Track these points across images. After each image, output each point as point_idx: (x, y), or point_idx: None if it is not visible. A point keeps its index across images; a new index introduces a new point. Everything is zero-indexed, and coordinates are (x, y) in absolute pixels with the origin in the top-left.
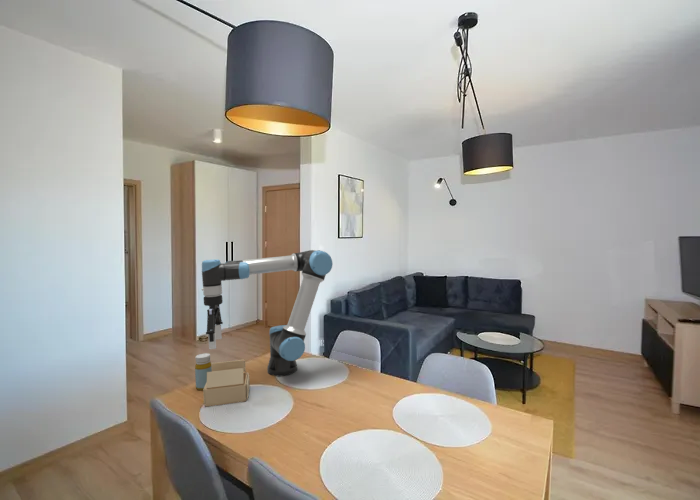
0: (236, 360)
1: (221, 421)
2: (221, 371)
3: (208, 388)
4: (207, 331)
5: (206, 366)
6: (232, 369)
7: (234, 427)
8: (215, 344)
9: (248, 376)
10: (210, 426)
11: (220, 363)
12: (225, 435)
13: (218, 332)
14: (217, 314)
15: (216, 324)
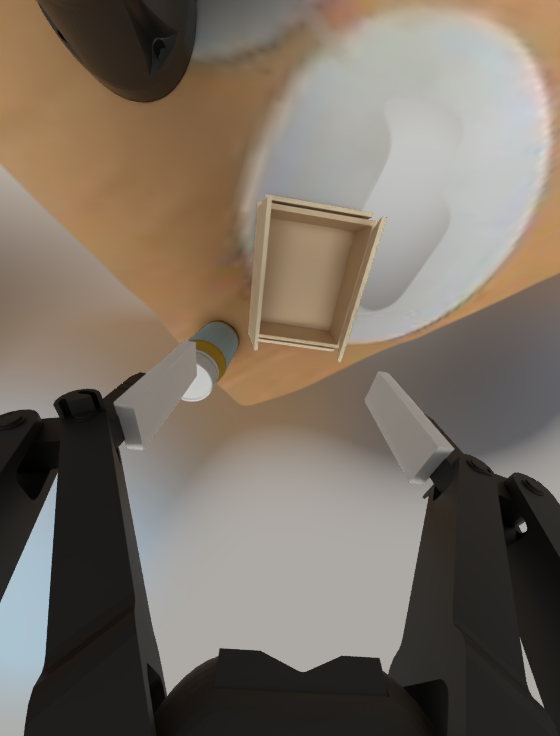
0: (263, 246)
1: (422, 299)
2: (355, 314)
3: (305, 336)
4: (513, 526)
5: (219, 356)
6: (369, 271)
7: (472, 270)
8: (399, 388)
9: (300, 200)
10: (426, 321)
11: (260, 317)
12: (488, 291)
13: (175, 382)
14: (144, 665)
15: (120, 440)
